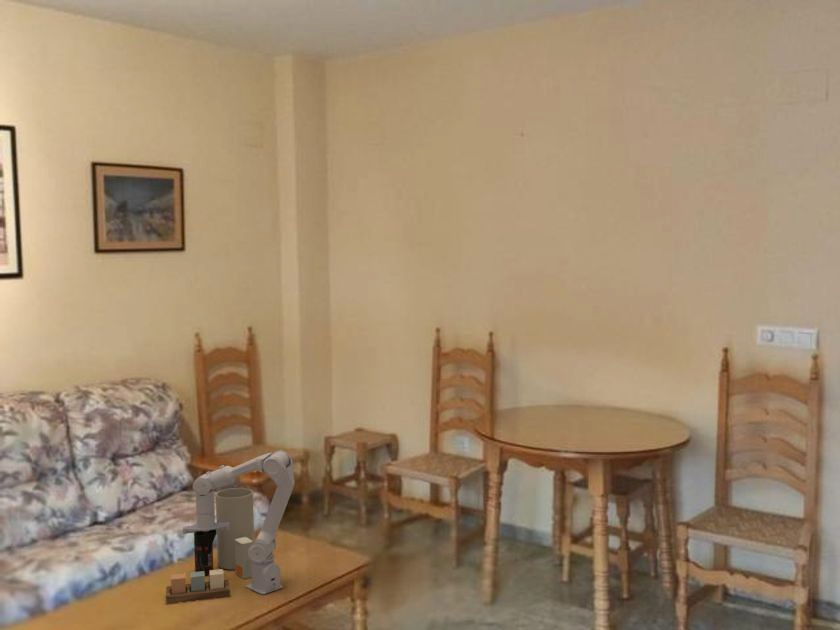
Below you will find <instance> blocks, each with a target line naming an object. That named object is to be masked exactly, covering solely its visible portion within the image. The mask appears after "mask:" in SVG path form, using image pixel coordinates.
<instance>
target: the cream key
mask: <svg viewBox="0 0 840 630" xmlns="http://www.w3.org/2000/svg"><path fill="white" fill-rule="evenodd" d="M208 576H209V582H210V590H211V589H219V588H224V580H225V579H224V578H225V574H224V569H223V568H219V569H213V570H209V575H208Z"/></svg>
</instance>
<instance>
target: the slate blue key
mask: <svg viewBox="0 0 840 630" xmlns="http://www.w3.org/2000/svg"><path fill="white" fill-rule="evenodd" d="M205 579H206V576H205V574H204V571H200V572H195V571H193V572H192V571H191V572H190V584H191V592H194V591H202V590H205V582H206V580H205Z"/></svg>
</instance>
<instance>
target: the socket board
mask: <svg viewBox="0 0 840 630" xmlns="http://www.w3.org/2000/svg"><path fill="white" fill-rule="evenodd" d="M165 589H166V590H165V601H166V602H165V605H174V604H173V603H175V604H179V603H178V602H183V603H188V602H187V601H191V602H197V601H196V600H199V601H207V600H213V599H215V598H216V599H221V598H222V599H223V598H230V597H231V588H230V583H229V579H224V588H219V589H211V590H210V581H205V590H202V591H194V592H191V583H186V592H185V593H177V594H172V588H171V585H169V586H166V588H165Z"/></svg>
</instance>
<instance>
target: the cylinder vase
mask: <svg viewBox="0 0 840 630" xmlns="http://www.w3.org/2000/svg"><path fill="white" fill-rule="evenodd" d="M215 513H216V514H215V515H216V516H215V518H216V519H215V522H216V523H227V522H229V530H216V549H217V551H216V552H217V555H216V556H217V565H218V567H219V568H220V569H223V570H230V571H236V570H235V539H238V538H243V537H247V538H248V539H250V540H252V541H253V544H254V543H255V522H254V518H255V517H254V491H253V490H252V489H251V488H244V487H233V488H225V489H222V490H219V491H217V492H216V493H215Z"/></svg>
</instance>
